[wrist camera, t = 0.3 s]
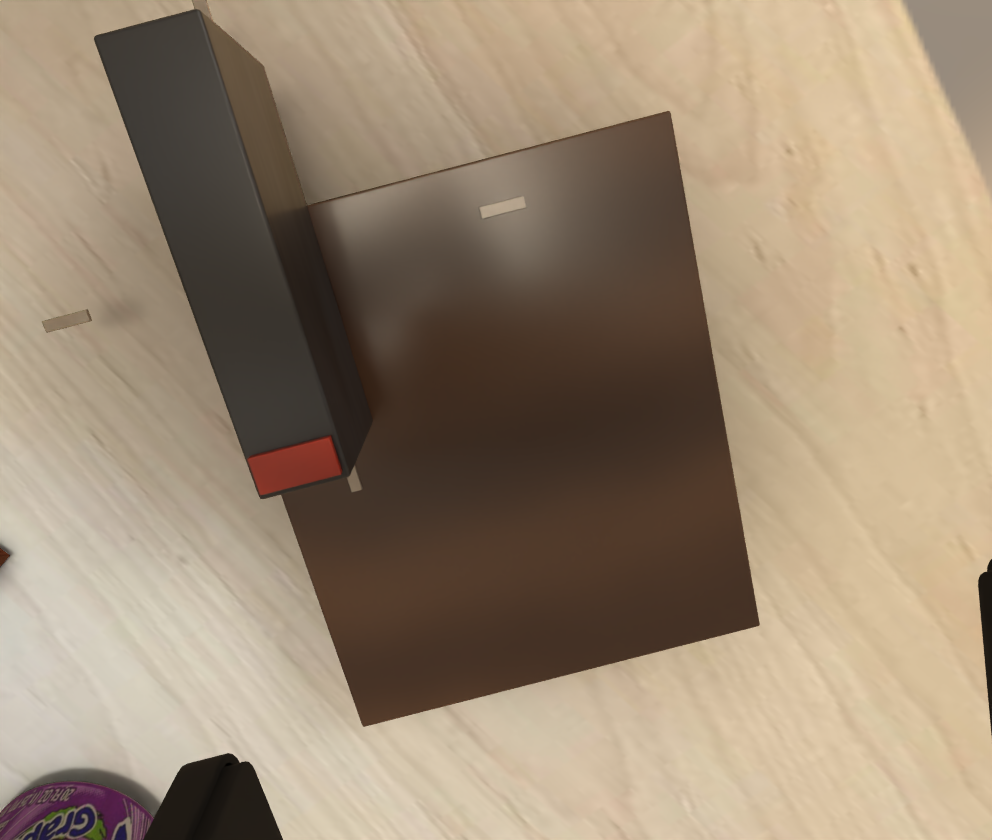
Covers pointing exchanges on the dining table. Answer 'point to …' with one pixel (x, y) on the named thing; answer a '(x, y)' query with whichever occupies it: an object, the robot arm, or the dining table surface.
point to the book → (3, 556)
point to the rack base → (522, 426)
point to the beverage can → (74, 814)
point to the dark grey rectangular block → (242, 245)
